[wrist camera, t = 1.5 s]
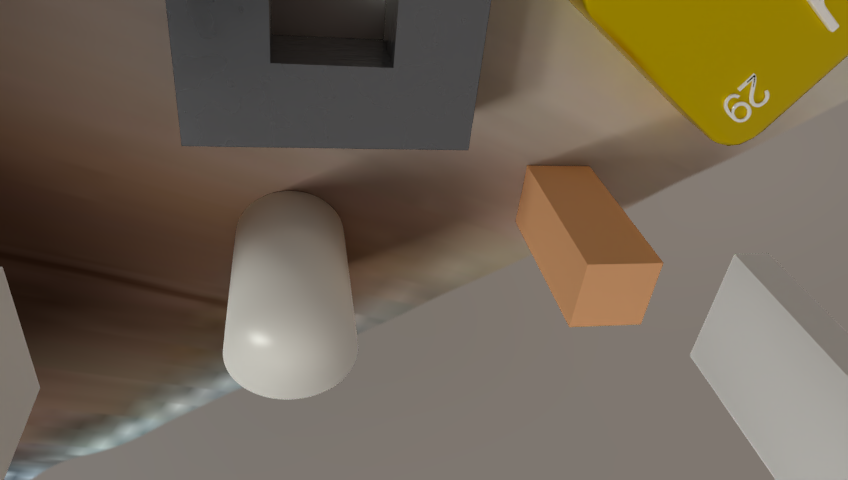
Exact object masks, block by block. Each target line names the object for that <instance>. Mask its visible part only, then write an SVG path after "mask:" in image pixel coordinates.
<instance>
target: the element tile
mask: <svg viewBox="0 0 848 480" xmlns="http://www.w3.org/2000/svg"><path fill="white" fill-rule="evenodd" d="M569 1H570V2H571V3H572V4H573V5H574V6H575V7H576V8H577V9H578V10H579V11H580V12H581V13H582V14H583V15H584V16H585V17H586V18H587V19H588V20H589V21H590V22H591V23H592V24H593V25H594V26H595V27H596V28H597V29H598V30H599V31H600V32H601V33H602V34H603V35H604V36H605V37H606V38H607V39H608V40H609V41H610V42H611V43H612V44H613V45H614V47H615V48H616V49H617V50H618V51H619V52H620V53H621V54H622V55H623V56H624V57H625V58H626V59H627V60H628V61H629V62H630V63H631V64H632V65H633V66H634V67H635V68H636V69H637V70H638V71H639V72H640V73H641V74H642V75H643V76H644V77H645V78H646V79H647V80H648V81H649V82H650V83H651V84H652V85H653V86H654V87H655V88H656V89H657V90H658V91H659V92H660V93H661V94H662V95H663V96H664V97H665V98H666V99H667V100H668V101H669V102H670V103H671V104H672V105H673V106H674V107H675V108H676V109H677V110H678V111H679V112H680V113H681V114H682V115H683V116H684V117H686V118H687V119H688V120H689V121H690V122H691V123H692V124H694V125H695V126H696V127H697V128H698V129H699V130H700V131H702V132H703V133H704V134H705V135H706V136H707V137H708V138H709V139H711V140H712V141H714V142H716V143H720V144H723V145H727V146H731V145H739V144H742V143H744V142H746V141H748V140H750V139H752V138H754V137H755V136H757V135H758V134H760V133H761V132H762V131H763V130H765V129H766V128H767V127H768V126H769V125H770V124H771V123H772V122H774V121H775V120H776V119H777V118H778V117H779V116H780V115H781V114H783V113H784V112H785V111H786V110H787V109H788V108H789V107H790V106H792V105H793V104H794V103H795V102H796V101H797V100H798V99H799V98H801V97H802V96H803V95H804V94H805V93H806V92H807V91H808V90H810V89H811V88H812V87H813V86H814V85H815V84H816V83H817V82H819V81H820V80H821V79H822V78H823V77H824V76H825V75H826V74H828V73H829V72H830V71H831V70H832V69H833V68H834V67H835V66H837V65H838V64H839V63H840V62H841V61H842V60H843V59H844V58H846V57H847V56H848V0H569Z"/></svg>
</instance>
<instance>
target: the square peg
mask: <svg viewBox="0 0 848 480" xmlns="http://www.w3.org/2000/svg"><path fill="white" fill-rule="evenodd" d="M516 223H517V225H518V227H519V229H520V231H521V233H522V235H523V237H524V239H525V241H526V243H527V245H528V247H529V249H530V251H531V253H532V255H533V257H534V258H535V260H536V263H537V265H538V267H539V269H540V270H541V272H542V274H543V276H544V278H545V280H546V282H547V284H548V286H549V288H550V290H551V292H552V294H553V296H554V298H555V300H556V302H557V304H558V306H559V308H560V310H561V312H562V313H563V316H564V317H565V319H566V322H567V323H568V325H569V327H587V326H612V325H634V324H636V325H637V324H641V322H642V320H643V317H644V314H645V311H646V309H647V306H648V304H649V301H650V298H651V295H652V293H653V290H654V287H655V285H656V282H657V279H658V277H659V274H660V271H661V268H662V266H663V262H662V260H661V259H660V258H659V257H658V255H657V254H656V253H655V251H654V250H653V249H652V247H651V246H650V245H649V244H648V242H647V241H646V240H645V238H644V237H643V236H642V234H641V233H640V232H639V230H638V229H637V228H636V226H635V225H634V224H633V223H632V221H631V220H630V219H629V218H628V216H627V215H626V213H625V212H624V211H623V209H622V208H621V207H620V206H619V204H618V203H617V202H616V200H615V199H614V198H613V196H612V195H611V194H610V192H609V191H608V190H607V189H606V187H605V186H604V185H603V183H602V182H601V181H600V179H599V178H598V177H597V175H596V174H595V173H594V172H593V170H592V169H591V168H590V166H530V165H527V169H526V174H525V179H524V183H523V188H522V193H521V198H520V202H519V207H518V212H517V217H516Z"/></svg>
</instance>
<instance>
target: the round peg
mask: <svg viewBox="0 0 848 480" xmlns="http://www.w3.org/2000/svg"><path fill="white" fill-rule="evenodd" d="M357 356H358V340H357V332H356V324H355V316H354V308H353V300H352V292H351V284H350V276H349V268H348V260H347V252H346V244H345V237H344V229H343V225H342V222H341V219H340V217H339V216H338V214H337V213H336V211H335V210H334V209H333V208H332V207H331V206H330V205H329V204H328V203H327V202H325V201H324V200H322V199H320V198H319V197H316V196H314V195H312V194H308V193H305V192H299V191H280V192H275V193H271V194H268V195H266V196H263V197H261V198H259V199H258V200H256V201H254V202H253V203H252V204H250V205H249V206H248V207H247V208H246V209H245V211H244V212H243V213H242V215H241V217H240V218H239V220H238V223H237V227H236V233H235V242H234V251H233V261H232V270H231V279H230V289H229V298H228V307H227V317H226V326H225V335H224V345H223V359H224V364H225V366H226V369H227V371H228V372H229V374H230V375H231V377H232V378H233V379H234V380H235V381H236V382H237V383H238V384H239V385H241V386H242V387H244V388H245V389H247V390H249V391H251V392H253V393H256V394H258V395H261V396H264V397H268V398H274V399H301V398H306V397H310V396H314V395H317V394H320V393H322V392H325V391H327V390H329V389H331V388H332V387H334V386H335V385H337V384H338V383H340V382H341V381H342V380H343V379H344V378H345V377H346V376H347V375H348V374H349V372H350V371H351V369H352V368H353V366H354V364H355V362H356V359H357Z"/></svg>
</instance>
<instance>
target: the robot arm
mask: <svg viewBox="0 0 848 480" xmlns="http://www.w3.org/2000/svg"><path fill="white" fill-rule="evenodd" d="M690 357H691V358H692V359H693V361H694V362H695V364H696V365H697V367H698V368H699V370H700V371H701V373H702V374H703V375H704V377H705V378H706V380H707V381H708V383H709V384H710V386H711V387H712V388H713V390H714V391H715V393H716V394H717V396H718V397H719V399H720V400H721V401H722V403H723V404H724V406H725V407H726V409H727V410H728V412H729V413H730V414H731V416H732V418H733V419H734V420H735V422H736V423H737V425H738V426H739V428H740V429H741V430H742V432H743V433H744V435H745V436H746V438H747V439H748V441H749V442H750V444H751V445H752V447H753V448H754V449H755V451H756V452H757V454H758V455H759V457H760V458H761V459H762V461H763V463H764V464H765V465H766V467H767V468H768V470H769V471H770V473H771V474H772V476H773V477H774V478H775V480H848V333H847V331H845V329H844V328H843V327H842V326H840V324H839V323H838V322H837V321H836V320H835V319H833V317H832V316H831V315H830V314H829V313H827V311H826V310H825V309H824V308H823V307H822V306H821V305H820V304H819V303H818V302H817V301H815V299H814V298H813V297H812V296H810V294H809V293H808V292H807V291H805V290H804V288H803V287H802V286H801V285H800V284H799V283H798V282H797V281H796V280H795V279H794V278H793V277H792V276H791V275H790V274H789V273H788V272H787V271H786V270H785V269H784V268H783V267H782V266H781V265H780V264H779V263H778V262H777V261H776V260H775V259H774V258H773V257H772V256H771V255H770V254H769V253H758V254H756V253H755V254H734V257H733V258H732V261H731V263H730V265H729V267H728V270H727V272H726V274H725V276H724V279H723V281H722V283H721V286H720V288H719V290H718V292H717V295H716V297H715V299H714V301H713V304H712V306H711V309H710V311H709V313H708V316H707V317H706V320H705V322H704V324H703V326H702V329H701V331H700V333H699V336H698V338H697V340H696V343H695V345H694V347H693V349H692V351H691V354H690ZM39 389H40V386H39V383H38V379H37V376H36V373H35V370H34V366H33V363H32V360H31V357H30V354H29V350H28V347H27V344H26V341H25V337H24V334H23V331H22V328H21V324H20V321H19V318H18V315H17V312H16V308H15V305H14V302H13V299H12V295H11V292H10V289H9V286H8V282H7V279H6V276H5V273H4V270H3V267H0V480H4V478H5V475H6V473H7V470H8V468H9V465H10V463H11V460H12V458H13V455H14V453H15V450H16V448H17V445H18V442H19V440H20V437H21V435H22V432H23V430H24V427H25V425H26V422H27V420H28V417H29V415H30V412H31V410H32V407H33V405H34V402H35V399H36V397H37V394H38V392H39Z"/></svg>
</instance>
